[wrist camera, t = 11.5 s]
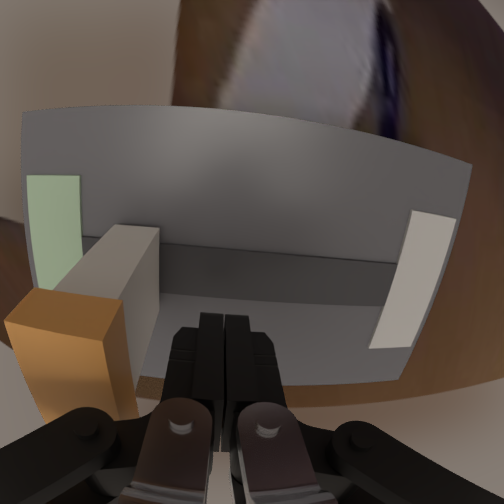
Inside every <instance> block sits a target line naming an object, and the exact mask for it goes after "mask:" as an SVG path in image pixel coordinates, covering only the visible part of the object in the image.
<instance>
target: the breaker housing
mask: <svg viewBox="0 0 504 504" xmlns="http://www.w3.org/2000/svg"><path fill="white" fill-rule="evenodd" d="M472 166H473V165H472V164H469V163H466V162H463V161H461V160H458V159H455V158H452V157H449V156H446V155H443V154H440V153H437V152H434V151H431V150H427V149H424V148H421V147H418V146H414V145H411V144H407V143H404V142H400V141H396V140H393V139H389V138H385V137H381V136H377V135H373V134H369V133H365V132H361V131H356V130H352V129H347V128H343V127H338V126H333V125H328V124H323V123H318V122H312V121H306V120H301V119H295V118H288V117H282V116H275V115H268V114H260V113H252V112H244V111H234V110H224V109H213V108H200V107H183V106H155V105H109V106H84V107H68V108H55V109H45V110H35V111H27V112H23V114H22V133H21V182H22V201H23V214H24V225H25V234H26V242H27V249H28V256H29V263H30V269H31V274H32V280H33V285H34V287H36V288H42V289H48V290H53V289H54V288H55V287H56V286H57V285H58V283H59V282H60V281H61V280H62V279H63V278H64V277H65V276H66V274H67V273H68V272H69V271H70V270H71V269H72V268H73V267H74V266H75V265H76V264H77V263H78V261H79V260H80V259H81V258H82V257H83V256H84V255H85V254H86V253H87V252H88V251H89V250H90V249H91V248H92V247H93V246H94V245H95V244H96V243H97V242H98V241H99V240H100V239H101V238H102V237H103V236H104V235H105V234H106V233H107V232H108V231H109V230H110V229H111V228H112V227H113V226H114V225H115V224H117V225H130V226H143V227H155V228H160V232H159V306H160V310H159V313H158V316H157V319H156V322H155V326H154V329H153V332H152V335H151V339H150V342H149V345H148V348H147V352H146V355H145V359H144V362H143V365H142V369H141V372H140V375H142V376H150V377H158V378H165V376H166V370H167V365H168V361H169V355H170V350H171V345H172V340H173V336H174V335H175V334H176V333H177V332H178V331H179V330H180V328H181V327H182V326H183V327H194V328H199V320H200V312H206V313H218V314H224V320H225V314H233V315H248V316H249V321H250V329H251V332H265V333H266V335H267V336H268V337H269V338H270V339H271V341H272V342H273V344H274V348H275V353H276V358H277V363H278V368H279V372H280V377H281V382H282V385H332V384H351V383H366V382H378V381H389V380H398V379H399V377H400V375H401V373H402V371H403V369H404V367H405V365H406V363H407V361H408V359H409V357H410V355H411V353H412V351H413V349H414V346H415V344H416V342H417V340H418V338H419V335H420V333H421V331H422V328H423V326H424V324H425V321H426V319H427V317H428V314H429V312H430V309H431V307H432V304H433V302H434V299H435V297H436V294H437V291H438V289H439V286H440V283H441V280H442V277H443V275H444V272H445V269H446V266H447V263H448V260H449V257H450V253H451V250H452V247H453V244H454V240H455V237H456V233H457V230H458V226H459V223H460V219H461V215H462V211H463V207H464V203H465V199H466V195H467V190H468V186H469V181H470V176H471V171H472Z"/></svg>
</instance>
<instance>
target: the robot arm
mask: <svg viewBox="0 0 504 504" xmlns="http://www.w3.org/2000/svg"><path fill="white" fill-rule="evenodd" d="M220 435H221V452H230V470H229V481H230V488H231V496H232V502H233V504H504V499H503V498H501V497H499V496H497V495H495V494H493V493H491V492H489V491H487V490H485V489H483V488H481V487H479V486H477V485H475V484H474V483H472V482H470V481H468V480H466V479H464V478H462V477H460V476H459V475H456V474H455V473H453V472H451V471H449V470H447V469H446V468H444V467H442V466H440V465H439V464H437V463H435V462H433V461H432V460H430V459H428V458H426V457H425V456H423V455H421V454H420V453H418V452H416V451H414V450H413V449H411V448H410V447H408V446H406V445H405V444H403V443H401V442H400V441H398V440H396V439H395V438H393V437H392V436H390V435H388V434H387V433H385V432H384V431H382V430H380V429H379V428H377V427H376V426H374V425H372V424H370V423H367V422H363V421H349V422H346V423H344V424H342V425H340V426H339V427H338V428H337V429H336V430H335V431H331V430H326V429H320V428H316V427H312V426H308V425H306V424H303V423H302V422H300V421H298V420H297V419H296V417H295V416H294V414H293V413H292V412H291V411H290V410H288V408H287V405H286V401H285V397H284V392H283V387H282V382H281V377H280V372H279V368H278V363H277V358H276V353H275V348H274V344H273V342H272V341H271V339H270V338H269V337H268V336H267V335H266V333H265V332H251V329H250V321H249V316H248V315H233V314H225V320H224V314H218V313H206V312H200V320H199V328H194V327H183V326H182V327H181V328H180V330H179V331H178V332H177V333H176V334H175V335H174V336H173V340H172V345H171V350H170V355H169V361H168V365H167V370H166V376H165V381H164V386H163V392H162V397H161V401H160V403H159V404H158V405H157V406H156V407H155V408H154V410H153V411H152V412H151V413H149V414H148V415H145V416H143V417H140V418H136V419H129V420H119V421H114V420H113V419H112V418H111V416H110V415H109V414H107V413H106V412H104V411H103V410H100V409H98V408H94V407H80V408H76V409H73V410H71V411H69V412H68V413H66V414H64V415H62V416H60V417H59V418H57V419H55V420H53V421H51V422H49V423H48V424H46V425H44V426H42V427H40V428H38V429H37V430H35V431H33V432H31V433H29V434H27V435H25V436H24V437H22V438H20V439H18V440H16V441H14V442H12V443H10V444H8V445H6V446H4V447H3V448H1V449H0V504H206V502H207V492H208V482H209V475H210V474H211V471H212V462H213V452H219V445H220Z"/></svg>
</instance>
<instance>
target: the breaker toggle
mask: <svg viewBox="0 0 504 504" xmlns="http://www.w3.org/2000/svg"><path fill="white" fill-rule="evenodd" d="M159 232H160V228H155V227H143V226H130V225H117V224H115V225H114V226H113V227H112V228H111V229H110V230H109V231H108V232H107V233H106V234H105V235H104V236H103V237H102V238H101V239H100V240H99V241H98V242H97V243H96V244H95V245H94V246H93V247H92V248H91V249H90V250H89V251H88V252H87V253H86V254H85V255H84V256H83V257H82V258H81V259H80V260H79V261H78V263H77V264H76V265H75V266H74V267H73V268H72V269H71V270H70V271H69V272H68V273H67V274H66V276H65V277H64V278H63V279H62V280H61V281H60V282H59V283H58V285H57V286H56V287H55V288H54V289H53V290H48V289H42V288H36V287H34V288H33V289H32V290H31V291H30V292H29V293H28V294H27V295H26V297H25V298H24V299H23V300H22V301H21V302H20V303H19V304H18V305H17V306H16V307H15V309H14V310H13V311H12V312H11V313H10V314H9V315H8V316H7V318H6V319H5V320H4V323H5V326H6V329H7V332H8V335H9V338H10V341H11V344H12V347H13V350H14V353H15V355H16V358H17V360H18V363H19V366H20V368H21V371H22V373H23V375H24V378H25V380H26V383H27V385H28V387H29V390H30V392H31V394H32V396H33V398H34V400H35V403H36V405H37V407H38V409H39V411H40V413H41V415H42V417H43V419H44V421H45V423H46V424H48V423H49V422H51V421H53V420H55V419H57V418H59V417H60V416H62V415H64V414H66V413H68V412H69V411H71V410H73V409H76V408H80V407H94V408H98V409H100V410H103V411H104V412H106V413H107V414H109V415H110V416H111V418H112V419H113V420H114V421H119V420H129V419H136V418H140V417H139V412H138V407H137V402H136V396H135V390H136V387H137V383H138V379H139V376H140V372H141V369H142V365H143V362H144V359H145V355H146V352H147V348H148V345H149V342H150V339H151V335H152V332H153V329H154V326H155V322H156V319H157V316H158V313H159V310H160V306H159Z"/></svg>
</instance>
